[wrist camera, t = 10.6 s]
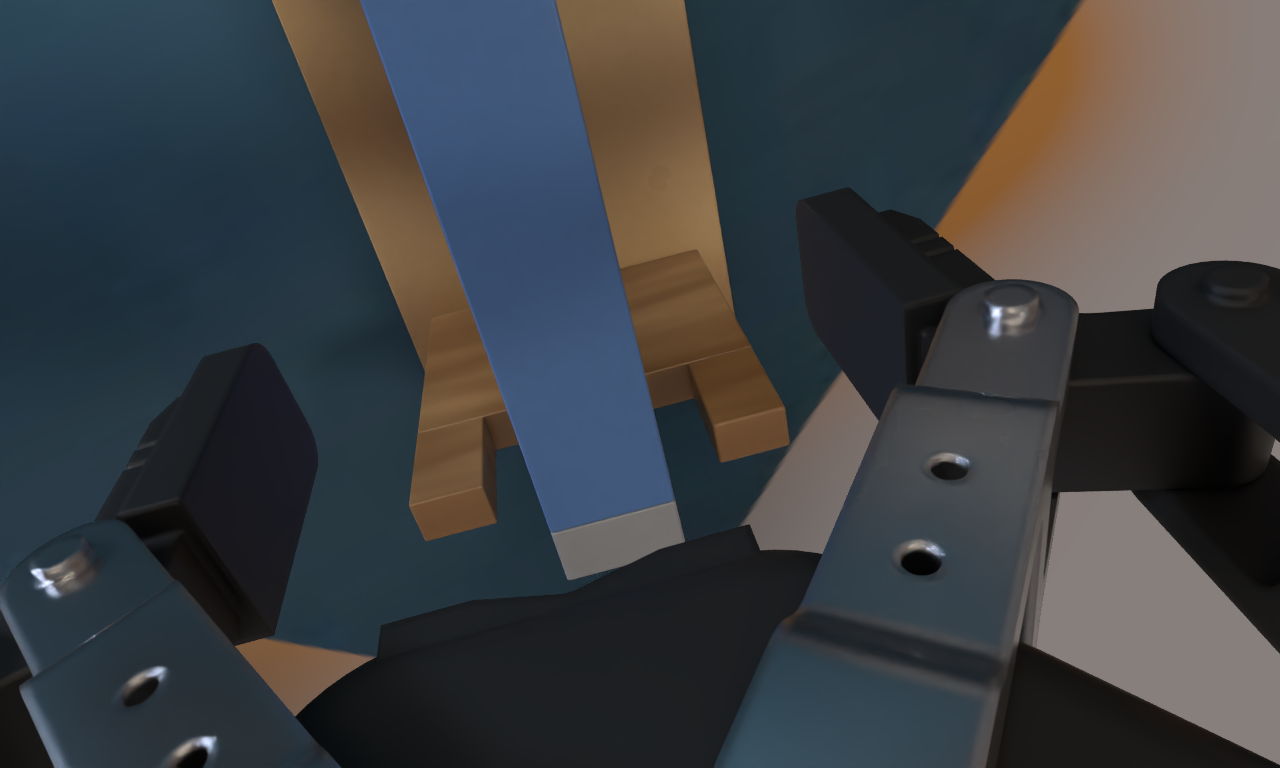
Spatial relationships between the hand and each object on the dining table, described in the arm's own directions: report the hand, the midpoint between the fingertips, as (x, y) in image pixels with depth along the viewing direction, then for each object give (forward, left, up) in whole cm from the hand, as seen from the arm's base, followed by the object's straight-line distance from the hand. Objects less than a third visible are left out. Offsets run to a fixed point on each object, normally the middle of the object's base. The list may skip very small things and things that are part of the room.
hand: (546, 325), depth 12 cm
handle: (0, 0, -8) cm, 8 cm away
